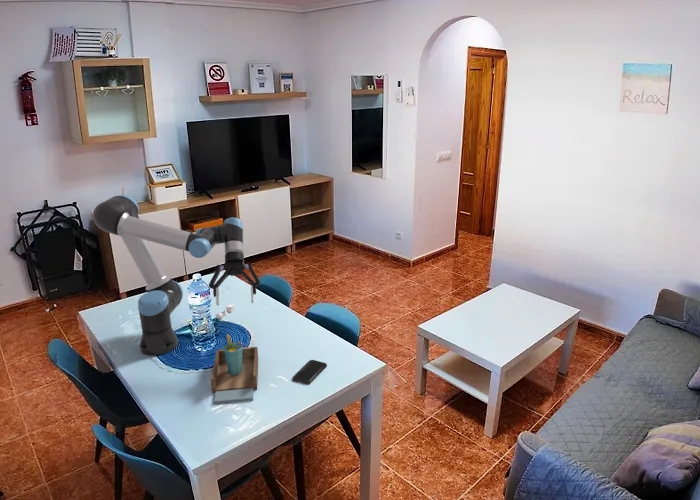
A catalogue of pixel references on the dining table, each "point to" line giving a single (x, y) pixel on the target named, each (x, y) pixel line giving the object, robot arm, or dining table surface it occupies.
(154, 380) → the dining table surface
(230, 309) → the game pieces
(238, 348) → the cup
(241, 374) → the tray
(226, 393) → the panel
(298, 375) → the phone
